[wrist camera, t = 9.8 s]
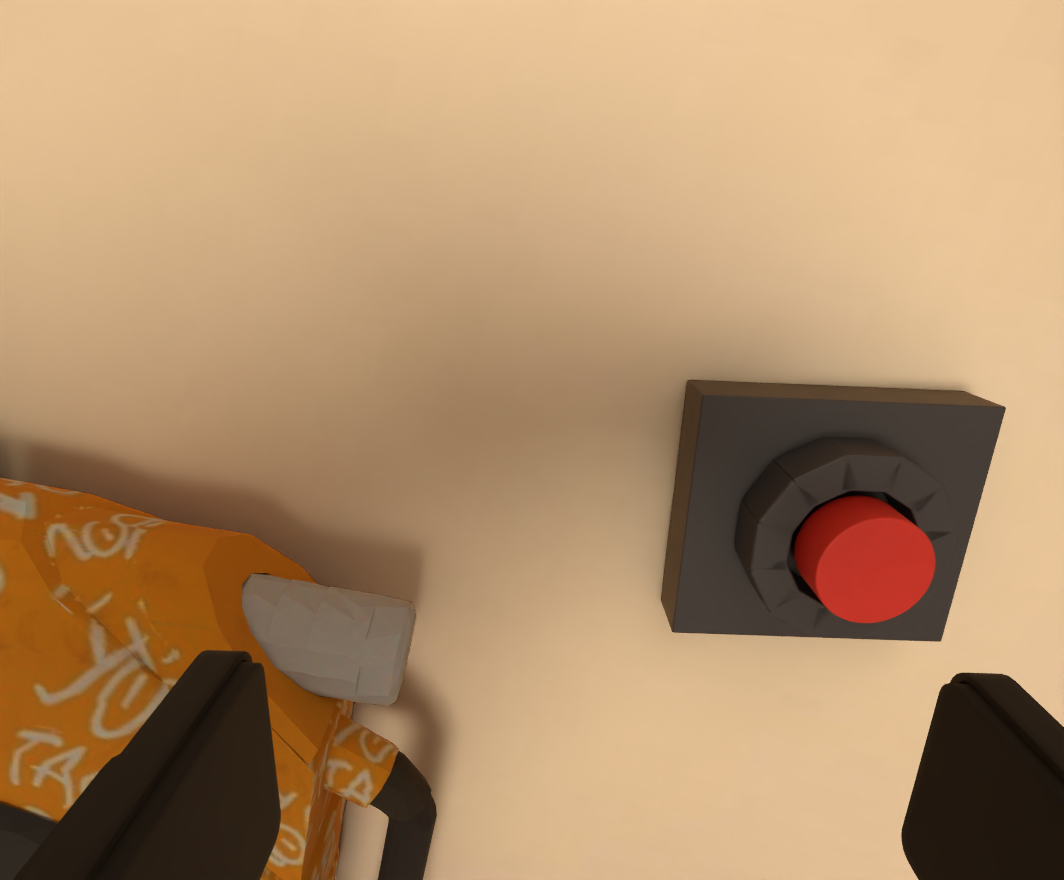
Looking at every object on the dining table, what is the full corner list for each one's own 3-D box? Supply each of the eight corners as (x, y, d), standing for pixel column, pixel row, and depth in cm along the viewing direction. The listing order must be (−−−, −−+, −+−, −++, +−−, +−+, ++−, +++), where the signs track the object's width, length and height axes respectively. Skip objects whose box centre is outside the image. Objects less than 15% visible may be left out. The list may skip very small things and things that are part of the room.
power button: (785, 592, 22) (806, 622, 20) (803, 492, 21) (827, 515, 19) (891, 595, 22) (921, 626, 20) (915, 496, 21) (949, 520, 19)
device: (530, 649, 17) (375, 1274, 26) (529, 516, 25) (410, 1032, 34) (-405, 486, 15) (-225, 1212, 25) (-91, 398, 23) (-43, 972, 32)
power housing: (660, 600, 26) (682, 664, 22) (686, 379, 23) (718, 409, 19) (908, 609, 26) (973, 674, 22) (964, 390, 23) (1048, 423, 20)
